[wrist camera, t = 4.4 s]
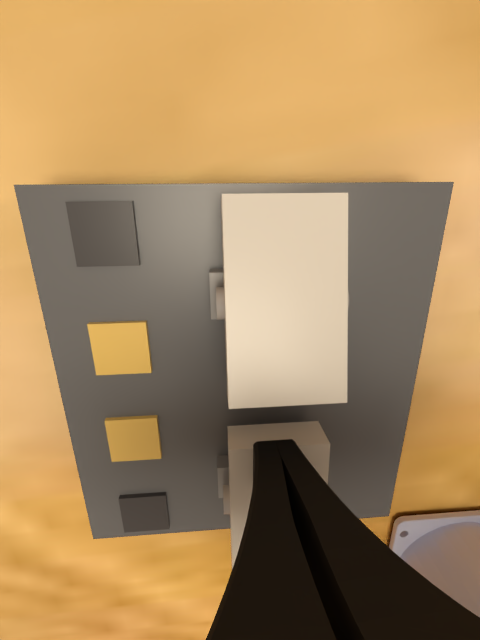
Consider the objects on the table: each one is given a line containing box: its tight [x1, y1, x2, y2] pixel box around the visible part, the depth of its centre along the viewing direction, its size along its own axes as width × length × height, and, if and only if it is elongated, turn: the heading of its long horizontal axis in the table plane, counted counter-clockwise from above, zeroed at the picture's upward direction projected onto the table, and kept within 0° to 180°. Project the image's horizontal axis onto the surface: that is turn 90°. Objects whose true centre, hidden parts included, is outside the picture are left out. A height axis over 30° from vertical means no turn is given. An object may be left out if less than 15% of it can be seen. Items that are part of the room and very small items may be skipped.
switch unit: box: [14, 182, 454, 539], centre depth 14 cm, size 15×14×3 cm
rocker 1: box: [216, 193, 349, 409], centre depth 10 cm, size 6×4×2 cm, turn 1°
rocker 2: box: [223, 421, 330, 569], centre depth 13 cm, size 6×4×2 cm, turn 1°
